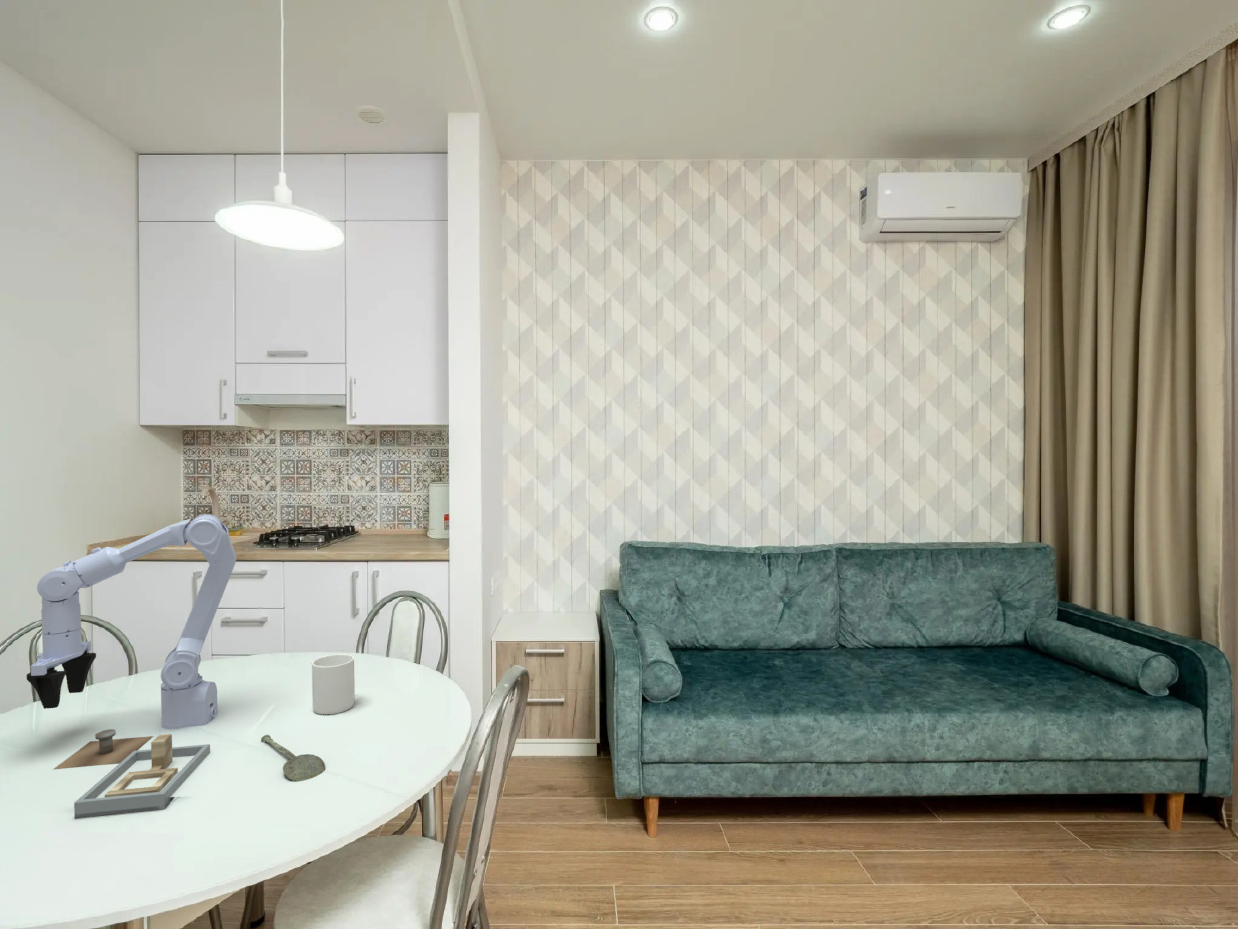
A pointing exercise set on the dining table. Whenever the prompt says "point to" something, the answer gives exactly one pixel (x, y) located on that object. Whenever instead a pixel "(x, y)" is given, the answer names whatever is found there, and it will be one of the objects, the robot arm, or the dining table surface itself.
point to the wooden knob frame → (160, 762)
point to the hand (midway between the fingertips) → (64, 699)
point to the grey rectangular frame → (137, 802)
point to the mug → (333, 683)
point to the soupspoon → (298, 763)
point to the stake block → (104, 750)
